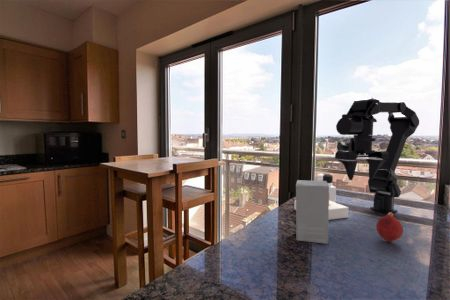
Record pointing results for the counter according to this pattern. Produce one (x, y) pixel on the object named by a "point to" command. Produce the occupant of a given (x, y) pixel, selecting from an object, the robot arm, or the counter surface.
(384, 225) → the onion
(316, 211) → the skincare box
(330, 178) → the medicine bottle
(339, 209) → the socket block
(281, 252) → the counter surface
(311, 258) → the counter surface
